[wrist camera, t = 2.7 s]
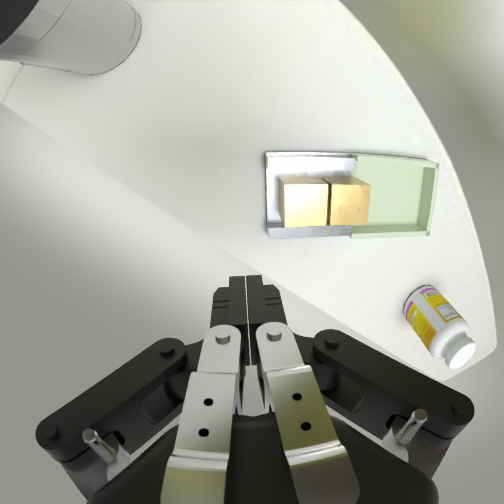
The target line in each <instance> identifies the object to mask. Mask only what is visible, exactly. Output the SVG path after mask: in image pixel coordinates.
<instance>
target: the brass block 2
mask: <svg viewBox="0 0 504 504" xmlns="http://www.w3.org/2000/svg"><path fill="white" fill-rule="evenodd" d="M320 179H321V180H322V181H324V182H325V183H327V184H328V199H327V217H326V221H327V223H328V224H329V225H361V224H367V221H368V211H369V201H370V189H371V185H370V184H368V183H366V182H364V181H362V180H360V179H358V178H357V177H344V176H320Z"/></svg>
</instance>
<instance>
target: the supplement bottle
mask: <svg viewBox="0 0 504 504" xmlns="http://www.w3.org/2000/svg"><path fill="white" fill-rule="evenodd" d="M404 315H405V318H406V319H407V321H408V322H409V324H410V325H411V326H412V328H413V329H414V331H415V332H416V333H417V335H418V336H419V338H420V339H421V340H422V342H423V343H424V345H425V346H426V348H427V349H428V351H429V352H430V353H431V355H432V356H433V357H434V358H436V359H445V363H446V364H447V366H448V367H449V368H450V369H457V368H459V367H460V366H462V365H463V364H465V363H466V362H467V361H468V360H469V359H470V357H471V356H472V355H473V353H474V351H475V348H476V344H475V343H474V341H473V340H472V339H471V338H469V337H468V333H469V327H468V324H467V322H466V321H465V320H464V319H463V318H462V316H461V315H460V314H459V313H458V312H457V311H456V310H455V309H454V308H453V307H452V305H451V304H450V303H449V302H448V301H447V300H446V299H445V298H444V297H443V296H442V295H441V294H440V293H439V292H438V291H437V290H436V289H435V288H434V287H431V286H425V287H421V288H419V289H418V290H416V291H415V292H414V293H413V294H412V295H411V296H410V297H409V298H408V300H407V302H406V304H405V307H404Z"/></svg>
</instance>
